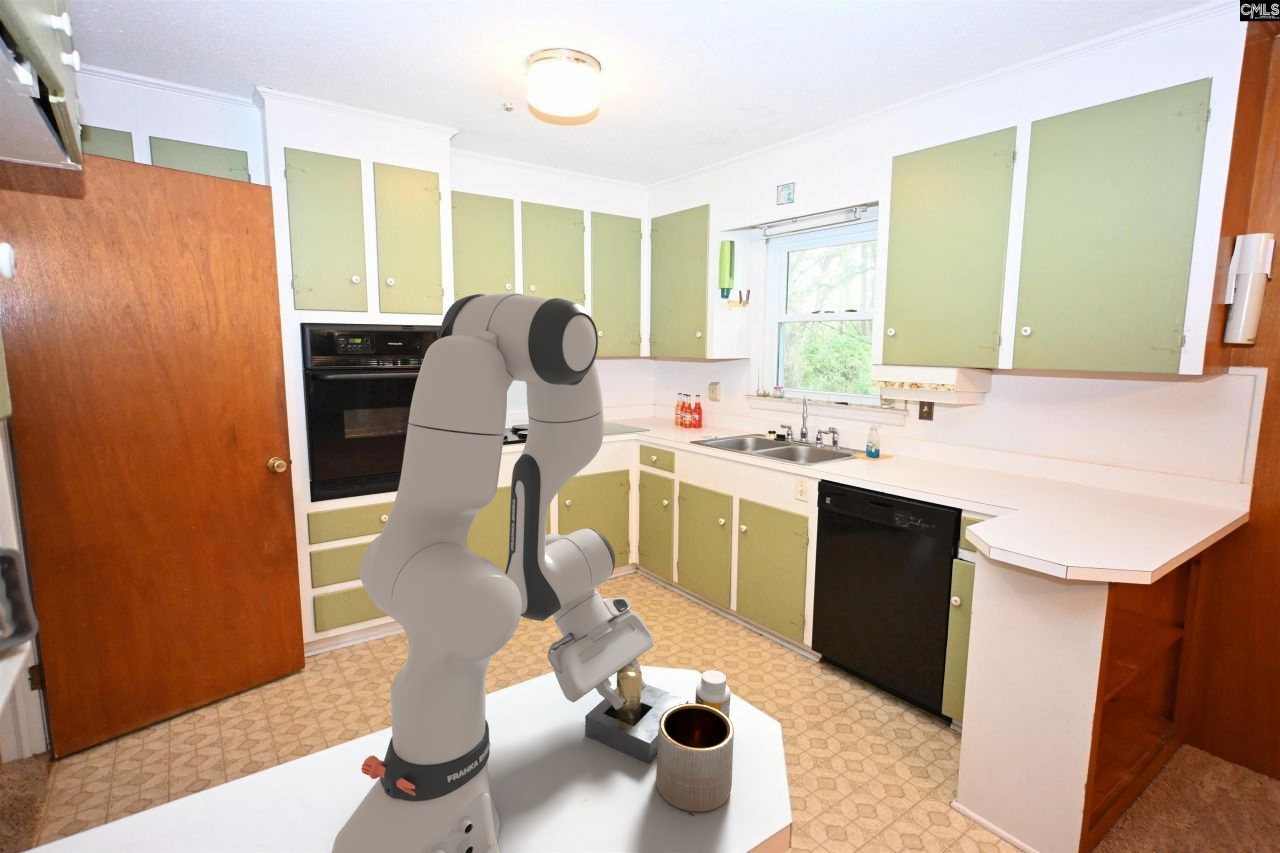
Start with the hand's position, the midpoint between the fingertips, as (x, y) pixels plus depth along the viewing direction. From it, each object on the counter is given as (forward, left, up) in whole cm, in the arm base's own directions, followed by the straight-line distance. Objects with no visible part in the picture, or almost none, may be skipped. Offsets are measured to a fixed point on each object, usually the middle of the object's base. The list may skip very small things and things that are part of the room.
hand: (631, 698), depth 97 cm
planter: (-5, -14, -6) cm, 16 cm away
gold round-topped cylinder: (0, +1, -5) cm, 5 cm away
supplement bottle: (+7, -11, -6) cm, 14 cm away
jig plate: (+2, 0, -6) cm, 6 cm away
